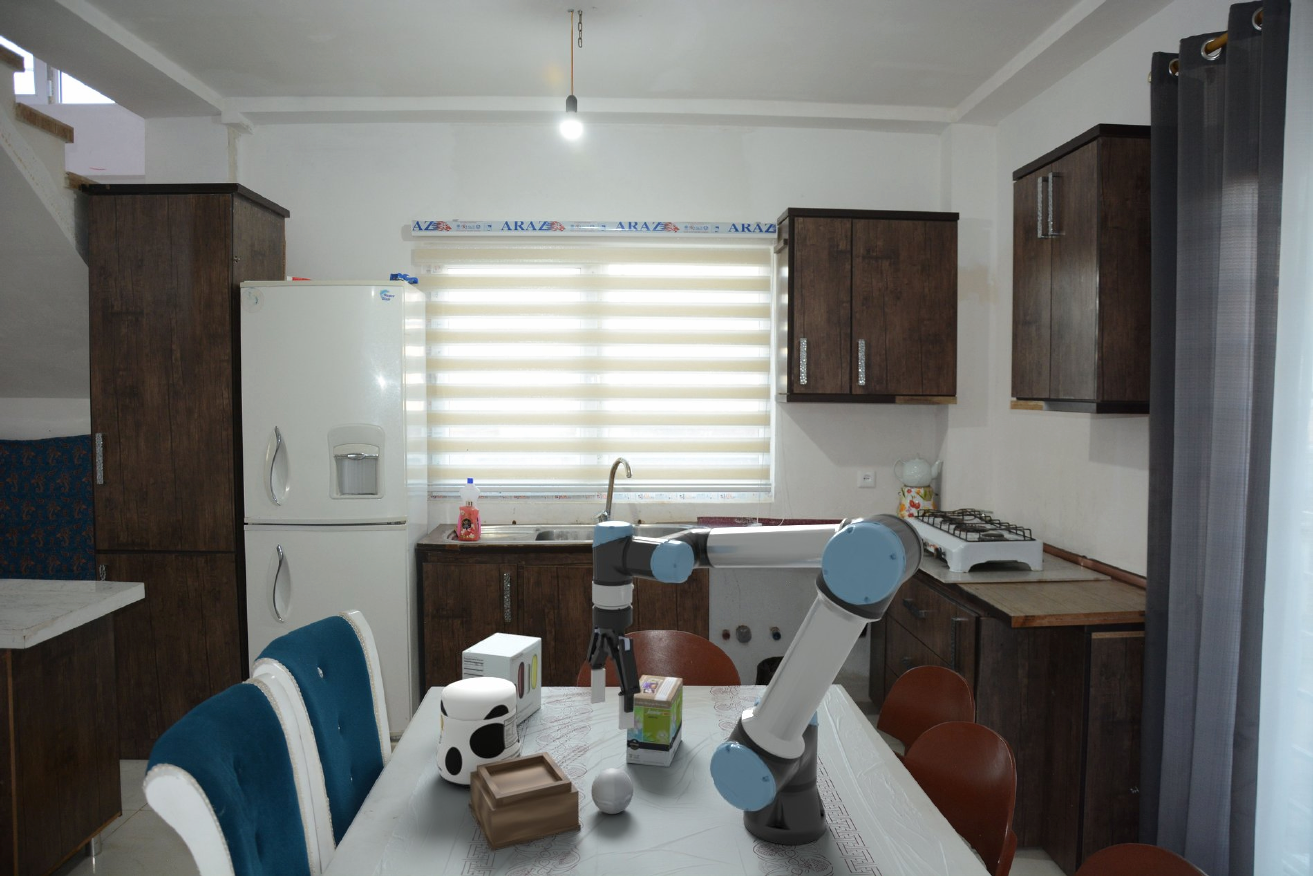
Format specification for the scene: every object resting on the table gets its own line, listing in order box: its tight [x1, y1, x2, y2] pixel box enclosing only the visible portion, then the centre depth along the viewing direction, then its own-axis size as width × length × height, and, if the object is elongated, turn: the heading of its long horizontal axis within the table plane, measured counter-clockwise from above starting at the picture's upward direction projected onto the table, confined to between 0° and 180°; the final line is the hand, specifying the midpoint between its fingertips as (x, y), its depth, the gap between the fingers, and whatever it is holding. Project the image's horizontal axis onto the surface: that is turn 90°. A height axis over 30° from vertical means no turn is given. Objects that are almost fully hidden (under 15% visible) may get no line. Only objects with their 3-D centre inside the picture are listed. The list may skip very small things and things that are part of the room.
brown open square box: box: [468, 751, 582, 852], centre depth 152 cm, size 17×17×8 cm
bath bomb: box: [591, 767, 634, 815], centre depth 155 cm, size 8×8×8 cm
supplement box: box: [461, 632, 542, 726], centre depth 200 cm, size 17×13×18 cm
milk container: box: [435, 677, 522, 787], centre depth 169 cm, size 17×17×18 cm
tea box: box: [625, 674, 684, 768], centre depth 181 cm, size 15×10×15 cm
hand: (611, 714), depth 154 cm, fingers open, 13 cm apart
